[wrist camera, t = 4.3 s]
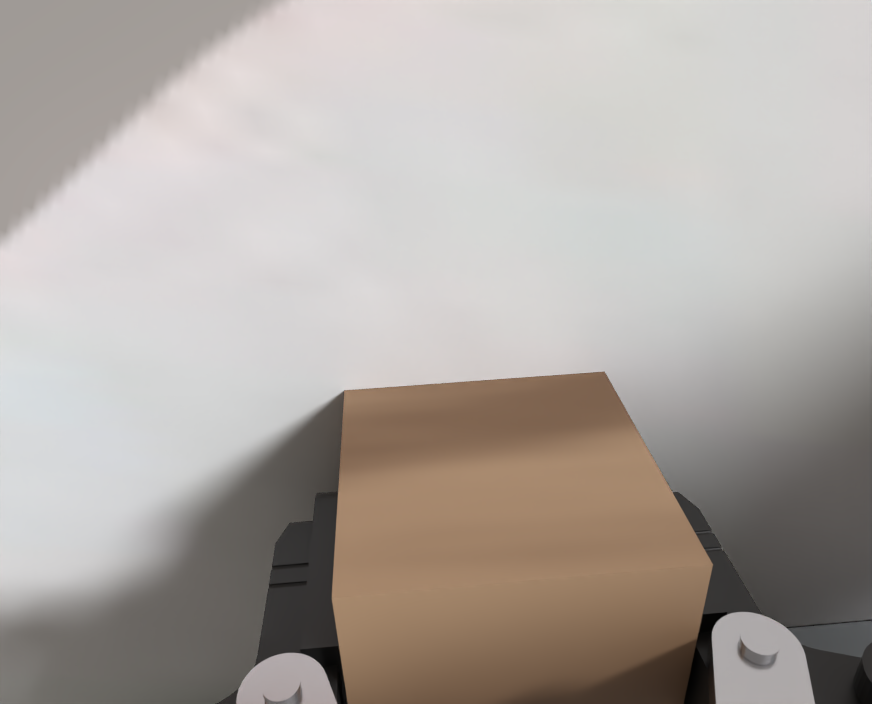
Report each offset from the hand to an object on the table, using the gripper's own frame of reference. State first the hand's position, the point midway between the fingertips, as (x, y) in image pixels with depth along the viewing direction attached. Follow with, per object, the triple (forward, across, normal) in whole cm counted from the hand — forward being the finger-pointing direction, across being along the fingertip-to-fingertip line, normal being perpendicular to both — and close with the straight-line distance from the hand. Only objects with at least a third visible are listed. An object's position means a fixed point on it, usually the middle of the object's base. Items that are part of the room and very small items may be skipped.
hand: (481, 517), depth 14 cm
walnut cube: (+1, 0, 0) cm, 1 cm away
